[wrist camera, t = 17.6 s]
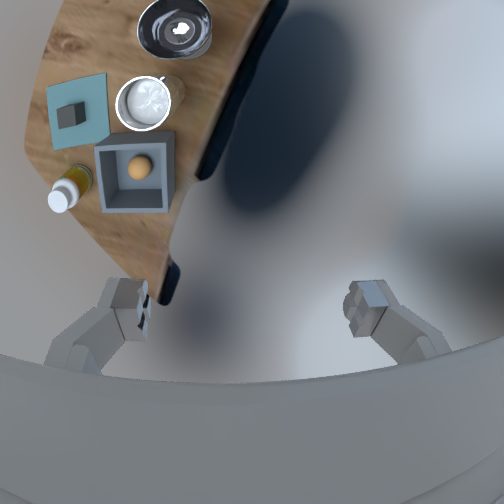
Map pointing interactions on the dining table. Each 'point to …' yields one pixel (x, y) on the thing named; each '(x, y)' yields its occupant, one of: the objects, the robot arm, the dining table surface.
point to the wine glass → (176, 29)
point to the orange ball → (139, 167)
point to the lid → (79, 111)
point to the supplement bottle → (70, 188)
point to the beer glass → (149, 100)
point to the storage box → (123, 185)
